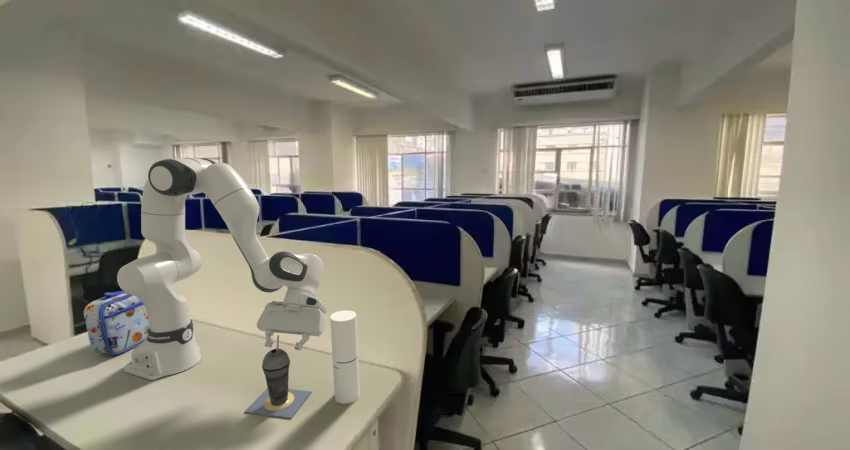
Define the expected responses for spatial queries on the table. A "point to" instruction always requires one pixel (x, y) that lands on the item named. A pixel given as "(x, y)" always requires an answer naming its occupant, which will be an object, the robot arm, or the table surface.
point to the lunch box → (116, 323)
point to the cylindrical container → (345, 356)
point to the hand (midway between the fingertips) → (282, 348)
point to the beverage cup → (277, 375)
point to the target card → (284, 411)
